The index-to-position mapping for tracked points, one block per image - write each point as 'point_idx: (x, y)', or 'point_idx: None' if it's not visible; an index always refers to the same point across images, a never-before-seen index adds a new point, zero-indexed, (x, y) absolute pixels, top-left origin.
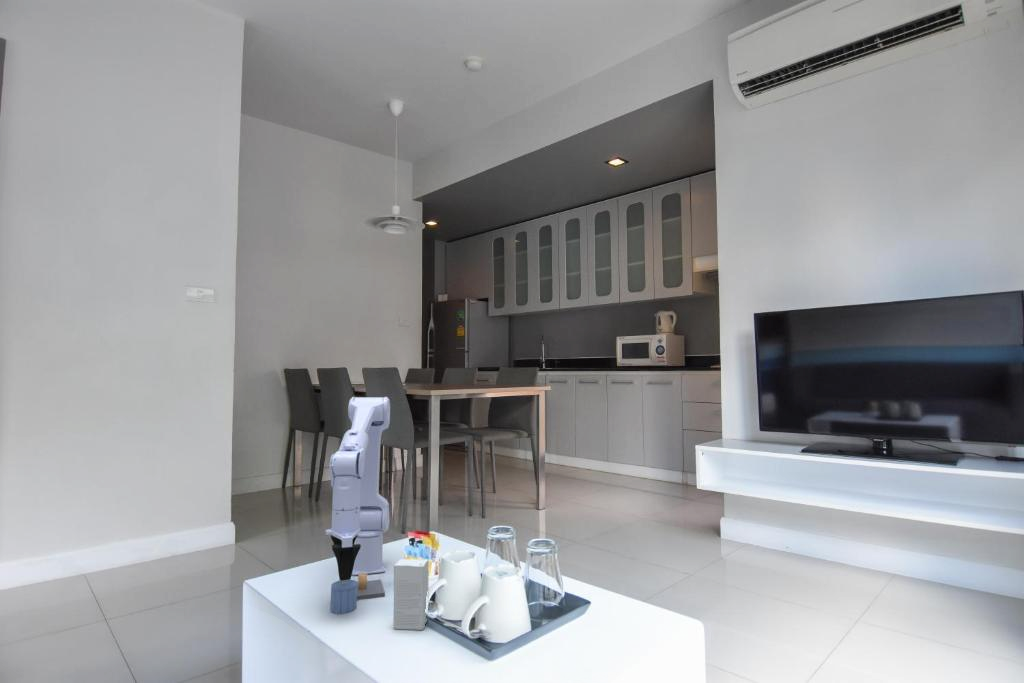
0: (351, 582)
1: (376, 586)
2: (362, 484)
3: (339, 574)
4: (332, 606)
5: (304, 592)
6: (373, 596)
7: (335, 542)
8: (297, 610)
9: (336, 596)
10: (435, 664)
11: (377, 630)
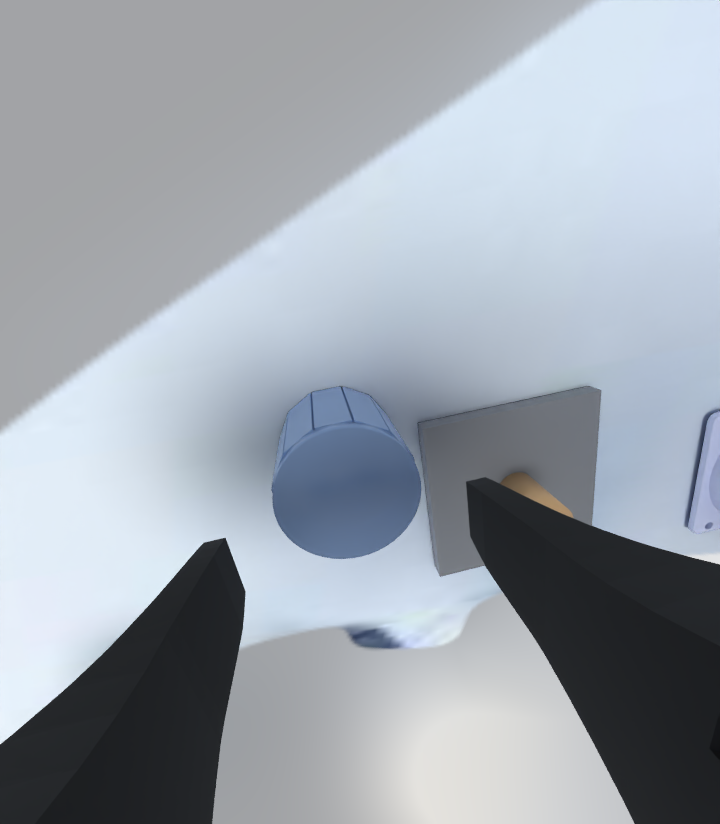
0: (366, 530)
1: None
2: None
3: (180, 573)
4: (298, 410)
5: (590, 212)
6: (433, 534)
7: (649, 631)
8: (350, 222)
9: (281, 450)
10: None
11: (104, 594)
